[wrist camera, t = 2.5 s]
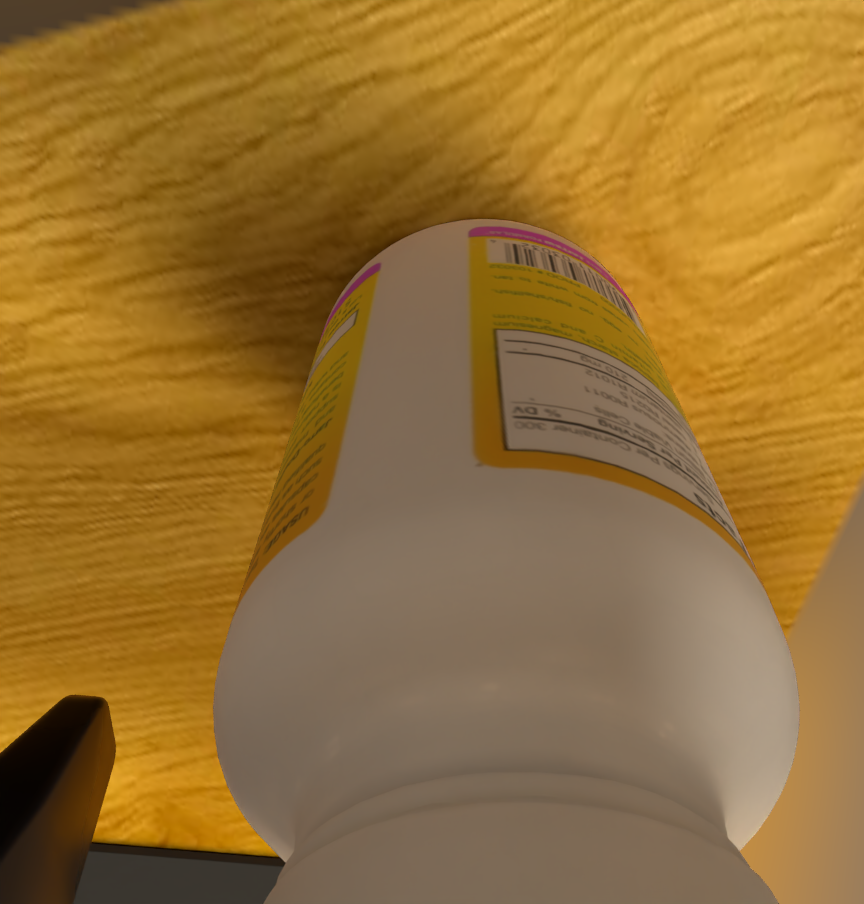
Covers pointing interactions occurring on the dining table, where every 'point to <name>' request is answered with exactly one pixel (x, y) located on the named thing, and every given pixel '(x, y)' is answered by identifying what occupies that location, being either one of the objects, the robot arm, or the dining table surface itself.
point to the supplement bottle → (501, 606)
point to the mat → (174, 877)
